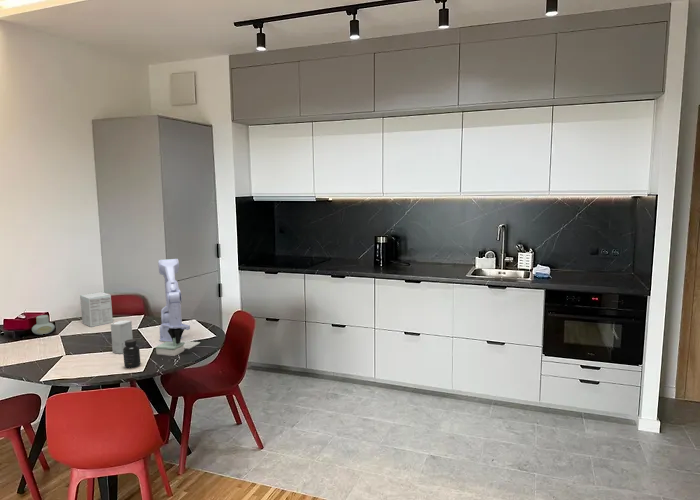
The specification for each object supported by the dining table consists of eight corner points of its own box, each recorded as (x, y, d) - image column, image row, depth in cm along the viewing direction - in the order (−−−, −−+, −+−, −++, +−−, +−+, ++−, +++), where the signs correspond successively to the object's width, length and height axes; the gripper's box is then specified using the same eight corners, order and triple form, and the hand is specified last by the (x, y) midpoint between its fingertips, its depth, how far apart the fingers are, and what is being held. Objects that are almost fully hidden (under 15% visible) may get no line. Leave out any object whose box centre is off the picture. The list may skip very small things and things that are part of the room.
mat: (168, 347, 248) (168, 346, 248) (180, 341, 258) (180, 340, 258) (189, 349, 245) (189, 348, 245) (200, 342, 255) (200, 342, 255)
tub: (156, 354, 238) (156, 348, 237) (166, 349, 245) (166, 343, 245) (174, 356, 235) (174, 350, 235) (184, 350, 243) (183, 345, 242)
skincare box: (121, 354, 239) (119, 324, 237) (111, 353, 241) (109, 323, 239) (134, 348, 247) (132, 320, 245) (124, 347, 249) (122, 319, 247)
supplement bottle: (127, 363, 226) (125, 338, 224) (142, 363, 226) (141, 338, 225) (121, 369, 219) (120, 343, 217) (137, 368, 219) (135, 342, 218)
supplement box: (113, 322, 297) (111, 294, 295) (90, 327, 287) (88, 298, 285) (104, 319, 305) (102, 291, 303) (81, 323, 296) (79, 295, 293)
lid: (155, 350, 237) (154, 338, 237) (166, 344, 245) (165, 333, 245) (174, 351, 235) (173, 339, 234) (184, 345, 243) (183, 334, 242)
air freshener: (33, 337, 269) (31, 319, 268) (31, 333, 276) (29, 316, 274) (56, 333, 276) (54, 315, 275) (53, 330, 282) (52, 313, 281)
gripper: (157, 317, 235) (158, 344, 237) (183, 319, 231) (185, 346, 233) (166, 313, 242) (167, 340, 243) (191, 315, 238) (193, 342, 240)
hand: (176, 343), depth 239 cm, fingers closed on lid
